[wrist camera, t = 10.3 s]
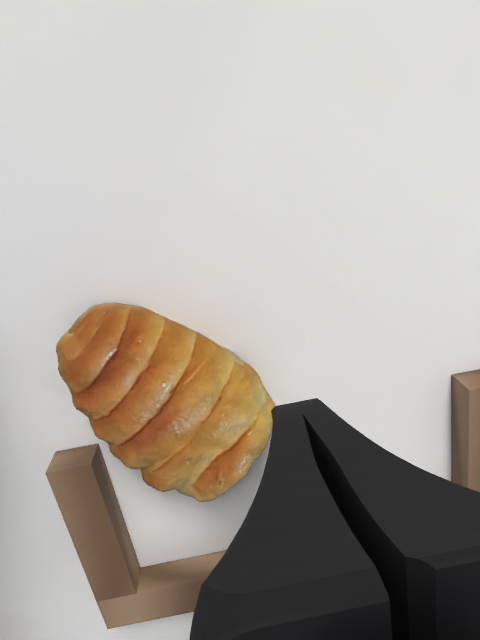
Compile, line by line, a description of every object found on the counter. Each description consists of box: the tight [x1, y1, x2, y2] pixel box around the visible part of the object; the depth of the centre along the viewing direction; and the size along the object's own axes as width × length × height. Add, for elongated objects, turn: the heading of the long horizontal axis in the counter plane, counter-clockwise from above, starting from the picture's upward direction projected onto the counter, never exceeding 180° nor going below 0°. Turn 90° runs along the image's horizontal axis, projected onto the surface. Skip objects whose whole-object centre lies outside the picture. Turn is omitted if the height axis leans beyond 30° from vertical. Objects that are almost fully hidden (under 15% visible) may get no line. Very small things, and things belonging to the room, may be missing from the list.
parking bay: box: [46, 369, 480, 629], centre depth 22 cm, size 21×10×2 cm, turn 100°
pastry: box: [56, 303, 275, 502], centre depth 19 cm, size 9×7×4 cm
